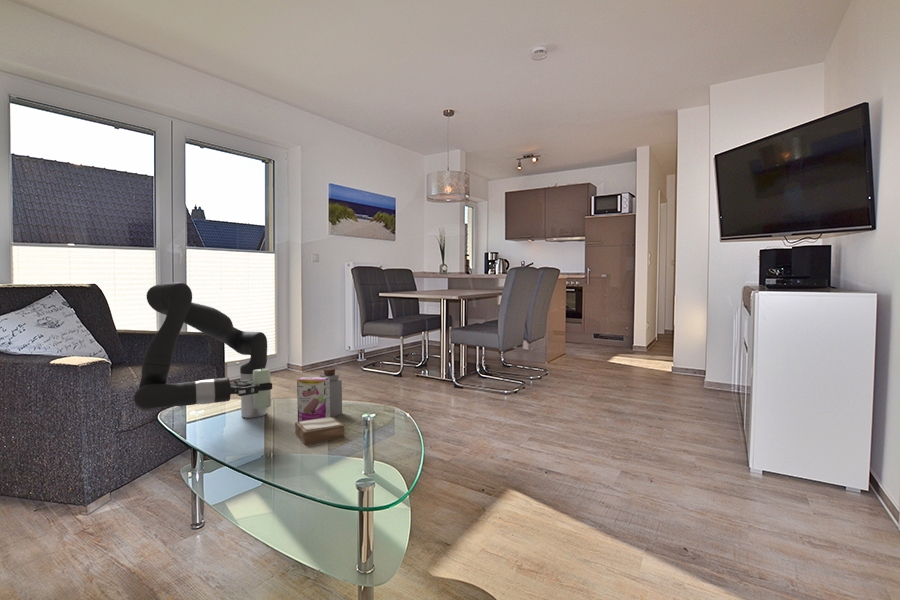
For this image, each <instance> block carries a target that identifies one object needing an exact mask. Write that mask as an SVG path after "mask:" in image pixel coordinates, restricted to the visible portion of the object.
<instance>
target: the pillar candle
mask: <svg viewBox="0 0 900 600" xmlns="http://www.w3.org/2000/svg"><path fill="white" fill-rule="evenodd" d="M262 383H271V369H270V368H265V369H262V367H261V369H256V370H253V384H262ZM253 390H254V388H253ZM271 390H272V389H271ZM271 390H264V391H260V392H259V393H257V394H253V399H254V408H256V409H262V408H266V409H268V408H270V407H271V406H272V404H271V403H272V399H271V398H272V397H271V396H272V395H271Z"/></svg>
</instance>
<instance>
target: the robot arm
mask: <svg viewBox="0 0 900 600" xmlns="http://www.w3.org/2000/svg"><path fill="white" fill-rule="evenodd" d="M146 301H147V303H148V304H149V306H150V307H151V308H152V309H153V310H154V311H155V312H157V313H160V314H163V315H165V318H164V321H163V323H162V325H161V327H160V328H159V329H158V331H157V332H156V334H155V335H154V336H153V337H152V339H151V341H150V342H149V344H148V345H147V348H146V350H145V352H144V357H143V362H142V365H141V366H142V367H141V378H140V383H139V386H138V389H137V390H136V391H135V392H134V395H133V402H134V404H135V405H136V406H137V408H138V409H140V410H141V411H143V412H154V411H155V410H157V409H159V408H165V407H172V406H176V407H186V406H194V405H195V406H196V405H209V404H214V403H215V404H216V403H225V402H229V401H231V395H236V396H238V397H240V401H241V402H240V412H241V417H242V418H244V417H245V418H244V419H249V418H250V419H253V418H260V417H262V416H263V417H264V416H265V415H266V414H267V408H262V409H256V408H254V399H253V394H257V393H259V392H260V391H264V390H273V383H272V382H270V383H262V384H253V370H256V369H261V367H262V369H266V367H267V362H268V338H267V336H266V334H265V333H264V332H260V331H243V330H240V329H238V328H236V327H234V324H233V322H232V319H231V318H230V317H229V316H228V315H227V314H225V313H223V312H221V311H220V310H218V309H216V308H214V307H212V306H210V305H209V306H208V305H205V304H201V303H195V302H192V301H193V292H192V289H191V288H190V286H189V285H188V284H187V283H185V282H181V281H179V282H177V281H174V282H166V283H159V284H156V285H153V286H151V287H150V288H149V289H147V292H146ZM184 324H186V325H187V326H190V327H191V328H193V329H196V330H197V331H199V332H201V333H203V334H204V335H207V336H208V337H210V338H212V339H215V340H217V341H219V342H220V343H223V344H225V345H226V346H228V347H230V348H231V349H233V351H235V352H236V353H238V354H240V355H243V356H250V357H249V360H248V362H247V363H243V364H242V365H241V366H240V368H239V370H240V371H239V373H240V375H239V376H240V377H239V378H240V380H239V379H238V380H237V379H235V380H234V381H233V383H232V382H231V380H230V378H229V377H227V376H225V377H217V378H207V379H206V378H205V379H201V380H195V381H186V382H180V383H167V378H168V376H169V373H170V369H171V365H172V364H171V363H172V359H173V355H174V351H175V347H176V344H177V341H178V338H179V335H180V333H181V330H182V328H183V326H184ZM230 382H231V383H230ZM253 388H254V390H253Z"/></svg>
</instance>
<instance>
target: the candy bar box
mask: <svg viewBox="0 0 900 600" xmlns="http://www.w3.org/2000/svg"><path fill="white" fill-rule="evenodd" d="M296 389H297V390H296V392H297V395H296V396H297V397H296V398H297V422H300V421H307V420H313V419H319V418H325V417H330V378H327V377H321V376H320V377H317V376H316V377H315V376H302V377H299V378H298V379H296Z"/></svg>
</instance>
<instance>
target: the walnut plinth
mask: <svg viewBox="0 0 900 600" xmlns="http://www.w3.org/2000/svg"><path fill="white" fill-rule="evenodd" d="M294 425H295V426H294V428H295V430H294V432H295V435H296V437H297V438H298V439H299V440H300V441H301V442H302V444H304V446H305V445H311V444H315V443H321V442H327V441H331V440H332V441H333V440H337V439H343V438H345V425H344V424H343V423H342V422H340V421H339V420H338V419H336V418H335V416H331V417H325V418H319V419H313V420H307V421H300V422H298V421H296V422H294Z"/></svg>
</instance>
